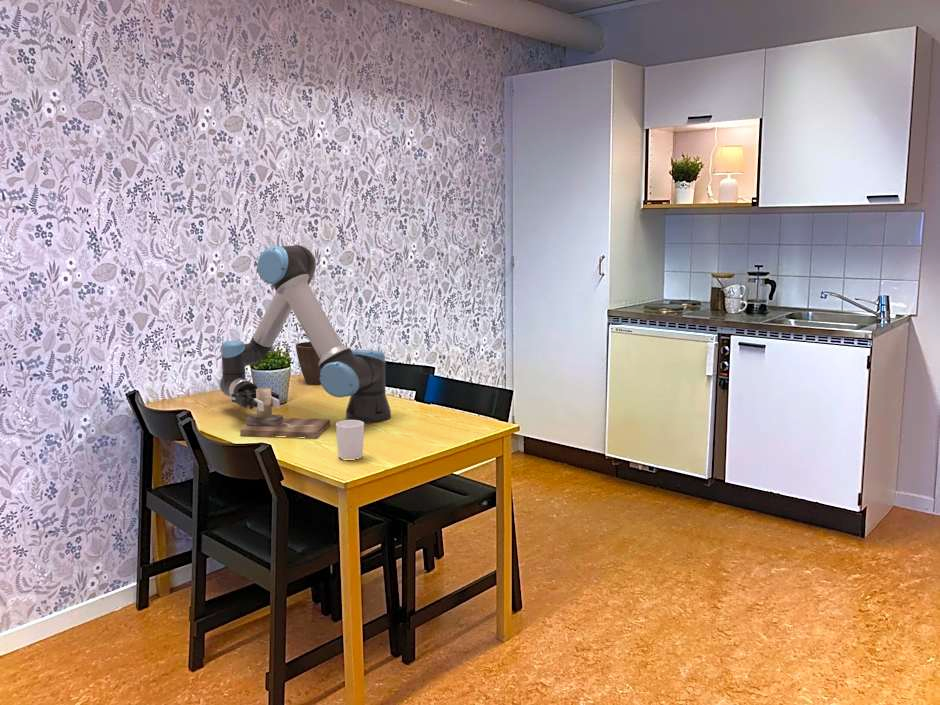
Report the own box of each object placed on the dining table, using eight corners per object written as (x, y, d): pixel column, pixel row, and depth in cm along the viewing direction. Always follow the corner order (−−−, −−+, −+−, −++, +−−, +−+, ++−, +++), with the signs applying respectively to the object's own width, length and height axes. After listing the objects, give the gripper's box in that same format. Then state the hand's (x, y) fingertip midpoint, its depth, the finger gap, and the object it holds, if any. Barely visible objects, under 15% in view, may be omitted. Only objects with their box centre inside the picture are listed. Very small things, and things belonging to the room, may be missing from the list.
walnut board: (330, 425, 262) (330, 419, 262) (316, 438, 246) (316, 432, 246) (258, 422, 264) (258, 416, 264) (240, 436, 249) (240, 429, 248)
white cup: (368, 454, 231) (368, 421, 229) (357, 462, 223) (357, 427, 222) (343, 452, 233) (343, 418, 231) (331, 460, 226) (331, 425, 224)
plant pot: (289, 385, 321) (288, 345, 319) (308, 378, 335) (307, 340, 333) (322, 388, 317) (321, 348, 314) (340, 380, 331) (339, 342, 328)
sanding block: (283, 421, 258) (282, 387, 256) (276, 426, 252) (275, 391, 250) (252, 419, 259) (251, 386, 257) (246, 424, 253) (244, 390, 251)
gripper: (269, 399, 275) (297, 413, 256) (218, 406, 265) (243, 421, 246) (269, 377, 273) (296, 390, 255) (217, 383, 263) (242, 397, 244)
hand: (270, 405), depth 250 cm, fingers closed on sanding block, 4 cm apart
